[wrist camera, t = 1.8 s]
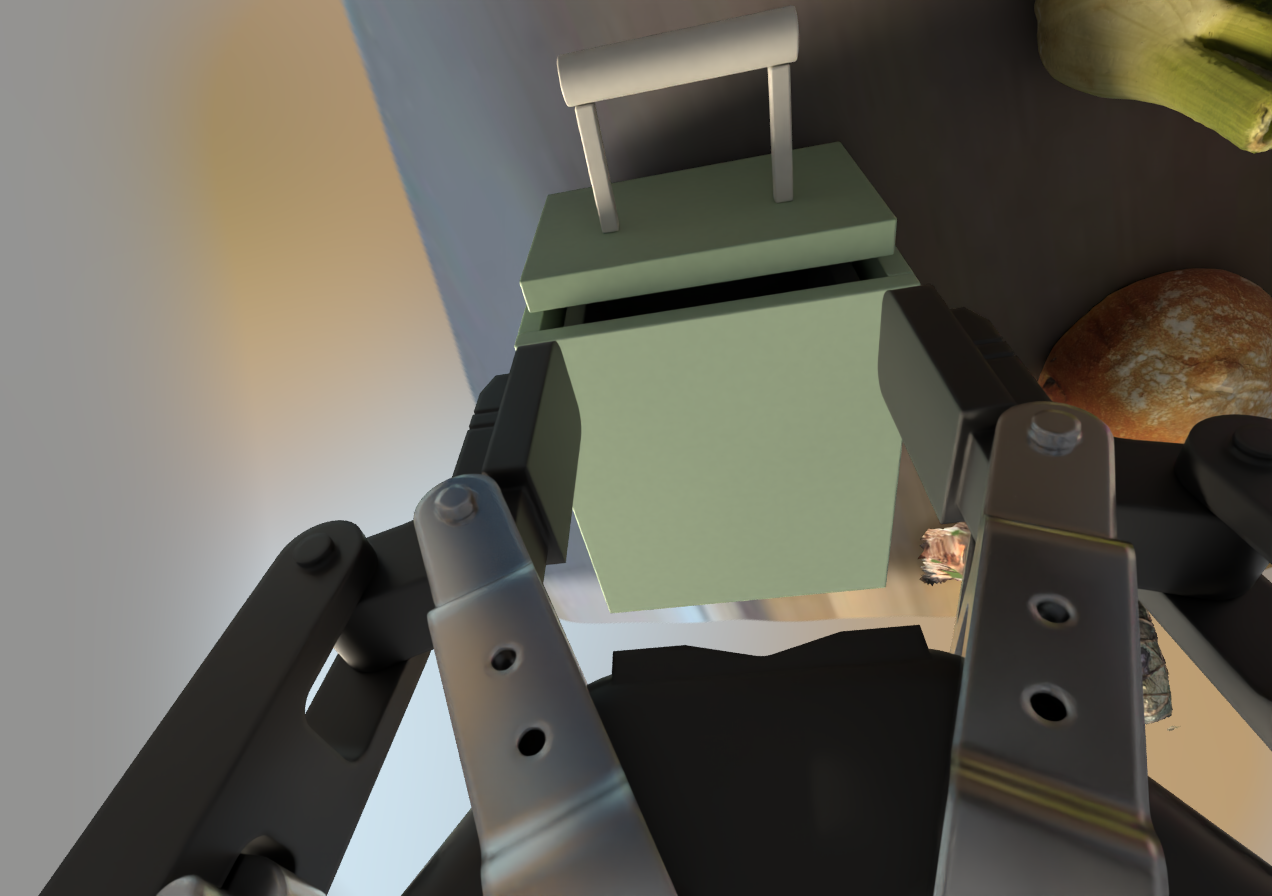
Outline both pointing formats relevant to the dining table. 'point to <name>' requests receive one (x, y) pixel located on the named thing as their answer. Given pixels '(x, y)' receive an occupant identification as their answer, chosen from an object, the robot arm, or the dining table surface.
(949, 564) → the grey irregular tall piece
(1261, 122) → the fennel bulb
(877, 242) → the green pull-out drawer
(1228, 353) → the bread roll
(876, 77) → the dining table surface
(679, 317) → the green drawer cabinet
